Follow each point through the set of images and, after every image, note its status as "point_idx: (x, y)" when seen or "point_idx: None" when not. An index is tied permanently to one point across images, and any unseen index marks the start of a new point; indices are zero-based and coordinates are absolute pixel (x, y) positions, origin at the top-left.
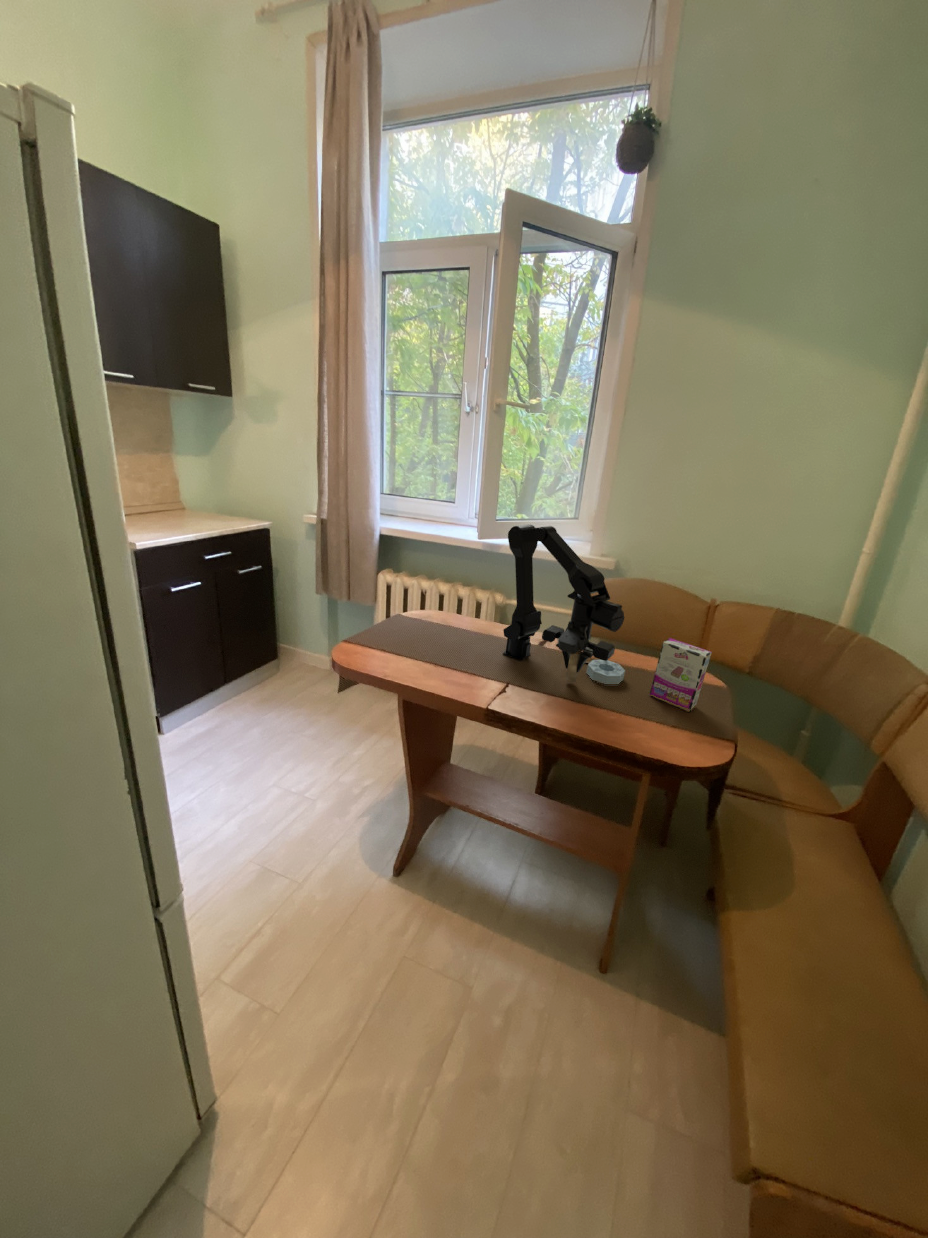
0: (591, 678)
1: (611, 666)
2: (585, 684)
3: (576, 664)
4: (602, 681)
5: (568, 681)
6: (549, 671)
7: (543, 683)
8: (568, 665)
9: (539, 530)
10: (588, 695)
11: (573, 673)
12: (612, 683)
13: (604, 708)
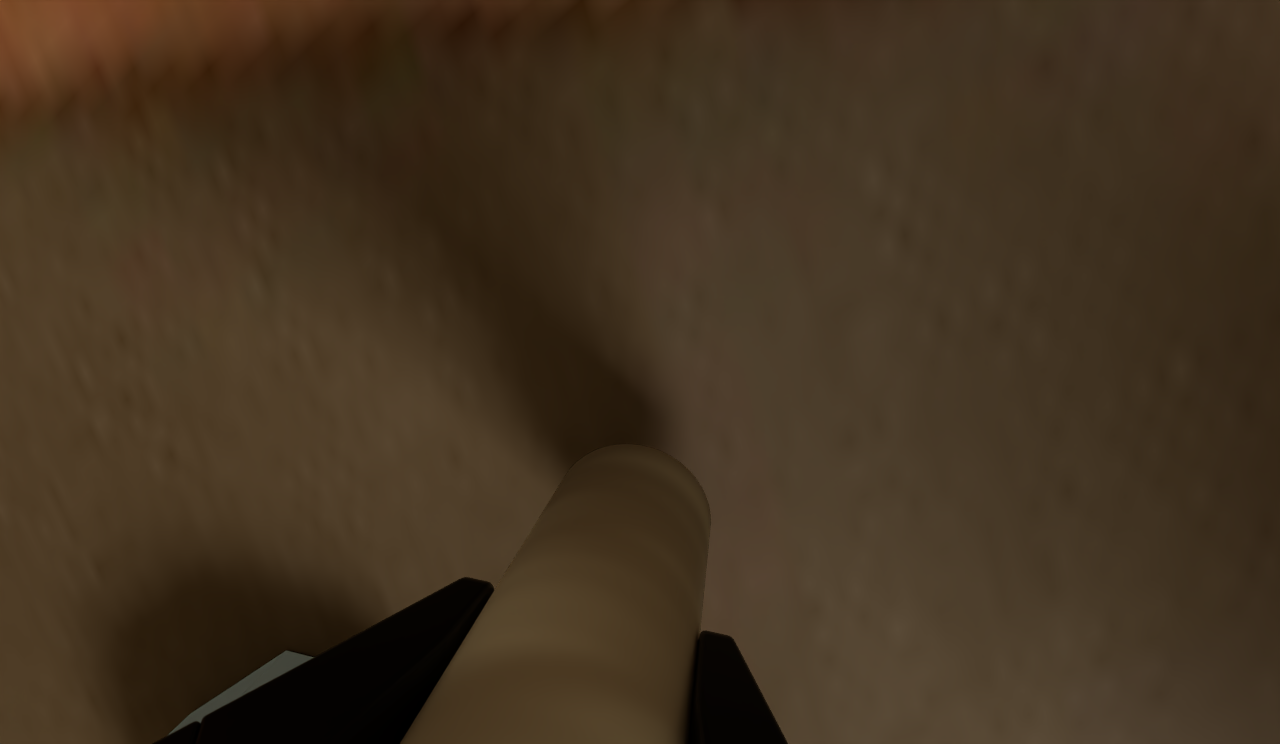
0: None
1: None
2: (467, 566)
3: (422, 713)
4: None
5: (643, 446)
6: (1000, 669)
7: (1023, 272)
8: (664, 671)
9: None
10: (339, 316)
11: (544, 534)
12: (215, 702)
13: (63, 105)
